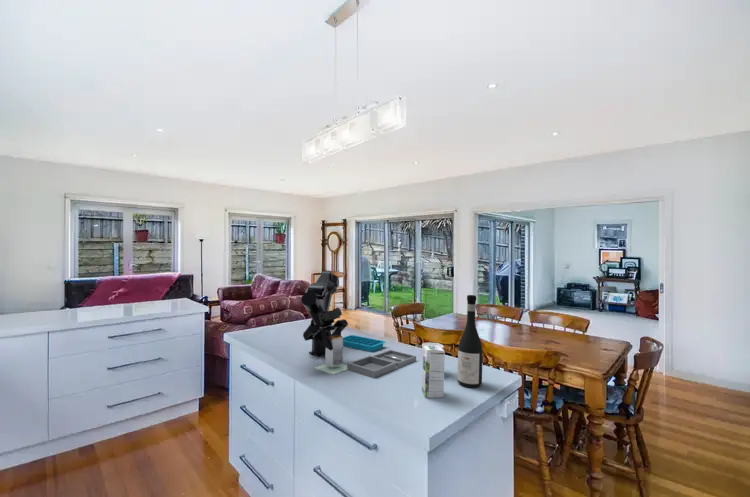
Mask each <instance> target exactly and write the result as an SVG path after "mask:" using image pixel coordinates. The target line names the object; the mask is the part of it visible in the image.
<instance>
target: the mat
mask: <svg viewBox="0 0 750 497" xmlns="http://www.w3.org/2000/svg"><path fill="white" fill-rule="evenodd" d="M313 369H316V370H318V371H320V372H324V373H326V374H330V375H337V374H340V373H343V372H346V371H349V370H348V369H347V364H344V363H342V365H339V366H336V367H333V368H332V367H329V366H326V365H325V363H324V364H321V365H318V366H315V367H314V368H313Z"/></svg>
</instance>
